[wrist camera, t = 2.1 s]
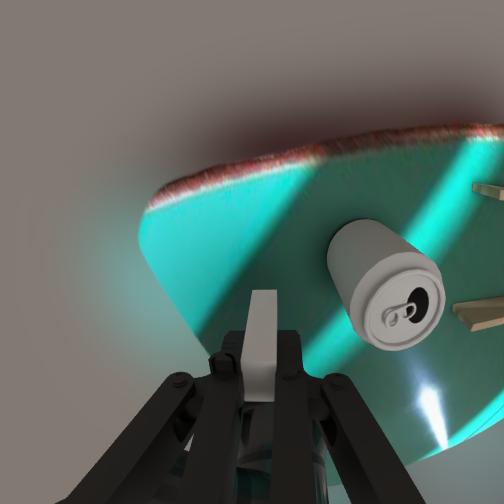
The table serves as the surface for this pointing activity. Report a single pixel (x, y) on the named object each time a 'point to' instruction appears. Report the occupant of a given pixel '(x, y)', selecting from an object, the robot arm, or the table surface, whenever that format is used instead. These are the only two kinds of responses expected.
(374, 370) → the table surface
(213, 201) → the table surface
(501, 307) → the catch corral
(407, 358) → the table surface
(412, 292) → the can
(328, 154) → the table surface
